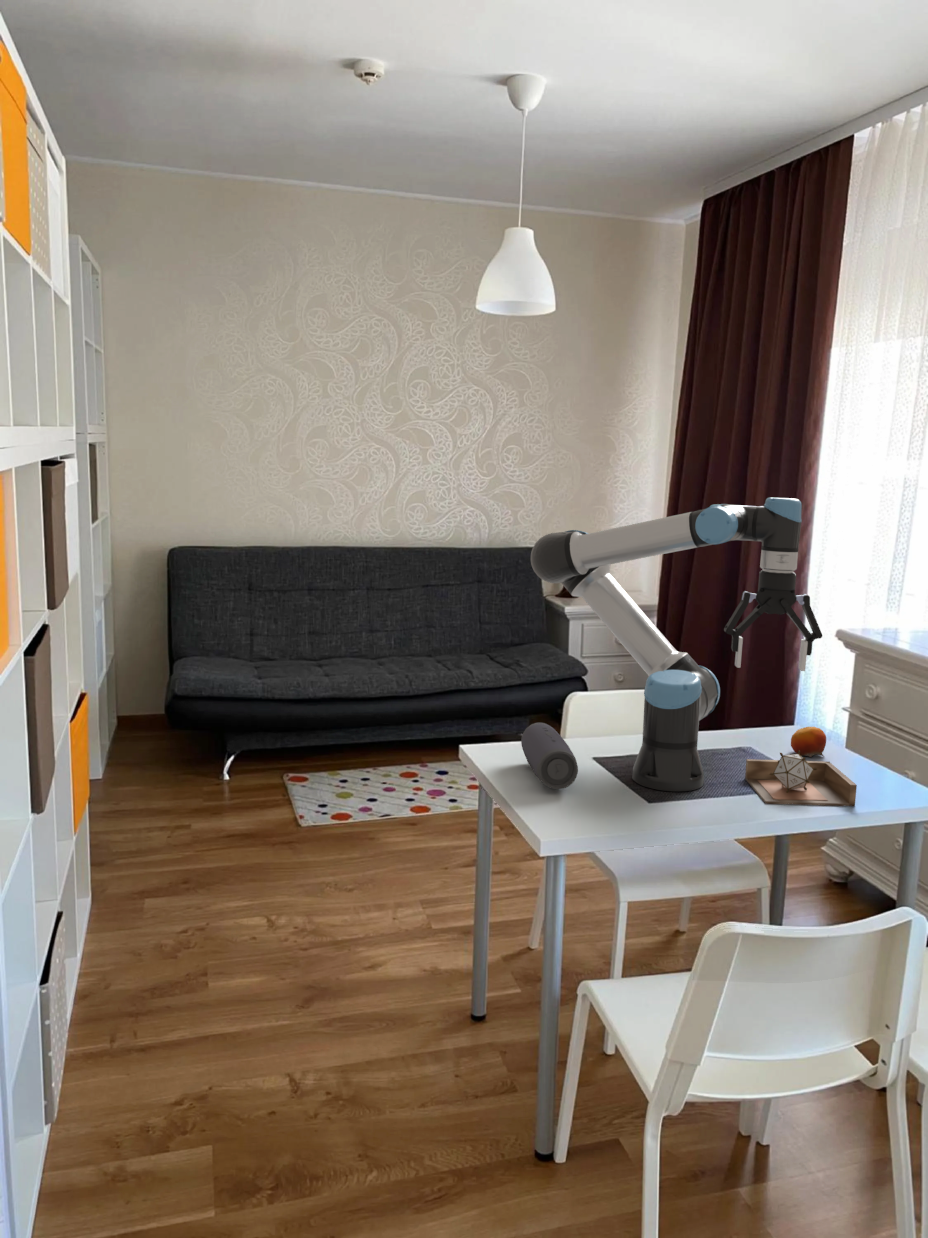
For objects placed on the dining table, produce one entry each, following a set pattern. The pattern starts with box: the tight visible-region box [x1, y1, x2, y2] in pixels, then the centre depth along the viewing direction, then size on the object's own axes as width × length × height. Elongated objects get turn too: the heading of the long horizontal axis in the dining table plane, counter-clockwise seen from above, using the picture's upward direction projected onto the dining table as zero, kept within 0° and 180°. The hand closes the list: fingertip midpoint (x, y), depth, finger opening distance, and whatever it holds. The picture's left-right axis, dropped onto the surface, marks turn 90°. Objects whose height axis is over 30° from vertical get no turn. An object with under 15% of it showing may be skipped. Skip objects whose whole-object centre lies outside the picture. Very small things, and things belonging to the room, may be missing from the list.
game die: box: [769, 750, 818, 793], centre depth 204 cm, size 9×8×10 cm
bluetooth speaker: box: [520, 722, 579, 790], centre depth 210 cm, size 23×9×10 cm, turn 6°
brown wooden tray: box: [744, 758, 858, 807], centre depth 204 cm, size 18×16×4 cm
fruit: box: [790, 726, 827, 758], centre depth 232 cm, size 8×8×8 cm
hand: (769, 668), depth 210 cm, fingers open, 13 cm apart
